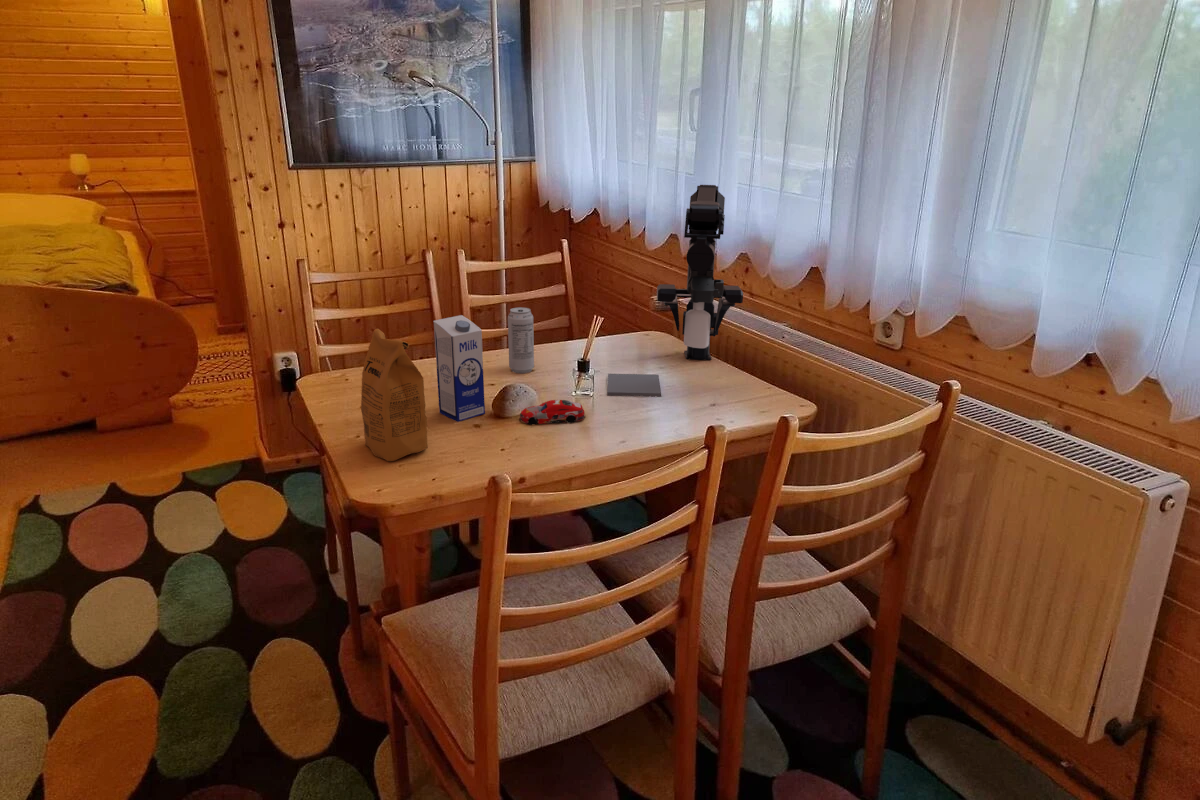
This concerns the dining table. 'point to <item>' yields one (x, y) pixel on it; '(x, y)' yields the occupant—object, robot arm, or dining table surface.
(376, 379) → the coffee package
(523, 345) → the energy drink can
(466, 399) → the milk carton
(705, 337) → the white bottle
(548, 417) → the race car
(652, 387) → the charcoal pad
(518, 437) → the dining table surface
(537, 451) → the dining table surface
